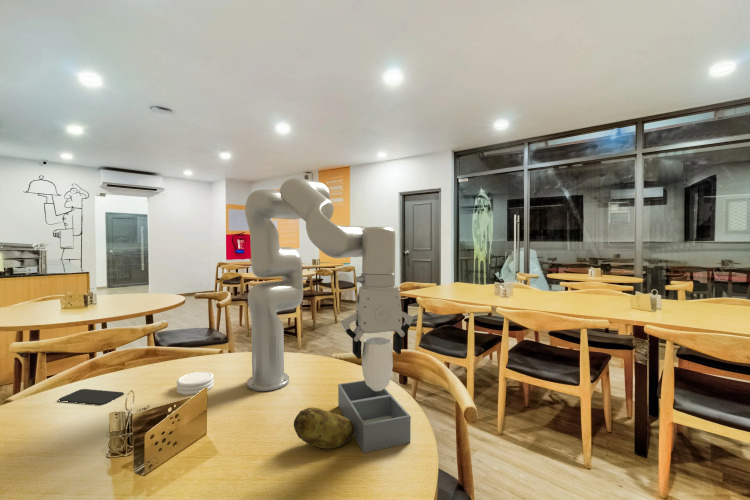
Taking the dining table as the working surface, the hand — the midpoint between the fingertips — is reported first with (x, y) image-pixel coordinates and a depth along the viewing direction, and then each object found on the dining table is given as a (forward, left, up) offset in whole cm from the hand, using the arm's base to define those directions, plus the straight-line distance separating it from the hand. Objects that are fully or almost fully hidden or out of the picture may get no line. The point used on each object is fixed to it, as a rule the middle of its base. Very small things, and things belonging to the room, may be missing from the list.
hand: (377, 354), depth 81 cm
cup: (0, 0, -18) cm, 18 cm away
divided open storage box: (-5, 0, -19) cm, 19 cm away
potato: (0, -12, -19) cm, 23 cm away
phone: (-45, -70, -19) cm, 86 cm away
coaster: (-42, -43, -19) cm, 64 cm away
